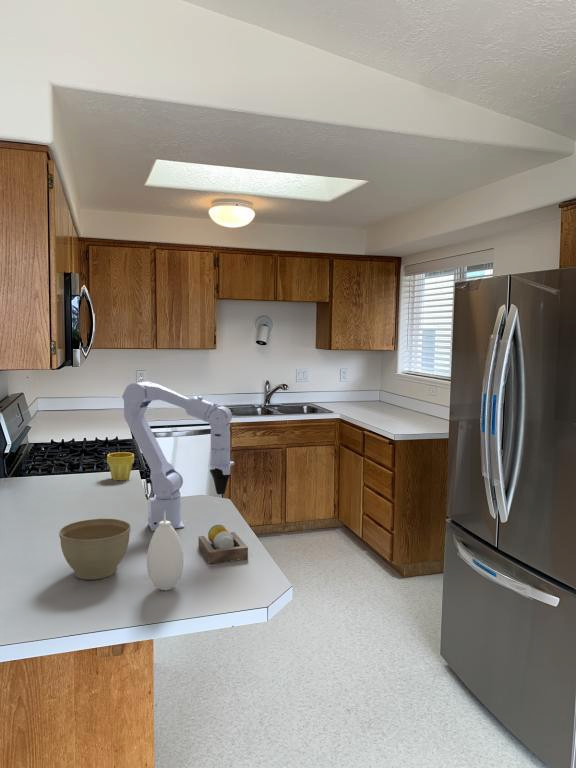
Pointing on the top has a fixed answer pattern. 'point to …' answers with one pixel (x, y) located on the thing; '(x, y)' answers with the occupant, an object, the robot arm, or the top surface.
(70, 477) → the top surface
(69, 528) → the planter bowl
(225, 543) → the supplement bottle
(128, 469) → the plant pot
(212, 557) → the u rest
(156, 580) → the sauce bottle
